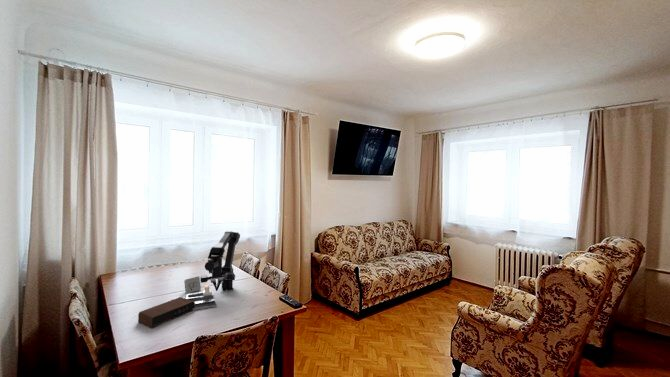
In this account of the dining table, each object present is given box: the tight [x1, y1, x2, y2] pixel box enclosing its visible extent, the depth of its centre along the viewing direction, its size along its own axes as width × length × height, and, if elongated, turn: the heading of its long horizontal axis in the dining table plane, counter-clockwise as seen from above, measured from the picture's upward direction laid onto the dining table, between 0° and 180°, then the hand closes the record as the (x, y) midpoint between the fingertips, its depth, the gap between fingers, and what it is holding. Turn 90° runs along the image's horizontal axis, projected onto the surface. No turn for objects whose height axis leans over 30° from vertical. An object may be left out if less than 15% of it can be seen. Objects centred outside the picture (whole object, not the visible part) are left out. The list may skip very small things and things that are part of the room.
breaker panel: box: [185, 289, 216, 306], centre depth 175 cm, size 16×18×4 cm
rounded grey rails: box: [192, 302, 217, 311], centre depth 165 cm, size 17×4×1 cm, turn 117°
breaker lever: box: [202, 284, 212, 296], centre depth 177 cm, size 4×4×6 cm
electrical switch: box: [184, 275, 202, 294], centre depth 190 cm, size 9×5×9 cm, turn 141°
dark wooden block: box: [137, 296, 195, 329], centre depth 154 cm, size 24×12×6 cm, turn 153°
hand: (216, 290), depth 180 cm, fingers closed
